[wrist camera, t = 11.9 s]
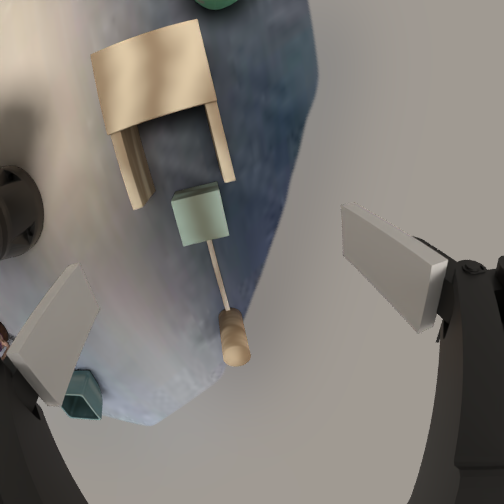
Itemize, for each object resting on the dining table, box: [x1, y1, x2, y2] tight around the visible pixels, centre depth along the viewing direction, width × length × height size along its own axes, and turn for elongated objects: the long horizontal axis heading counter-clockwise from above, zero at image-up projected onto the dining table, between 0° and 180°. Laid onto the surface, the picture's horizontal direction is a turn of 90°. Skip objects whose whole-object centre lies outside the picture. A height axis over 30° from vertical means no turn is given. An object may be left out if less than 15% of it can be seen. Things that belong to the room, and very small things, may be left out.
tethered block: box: [171, 182, 251, 366], centre depth 40 cm, size 6×25×10 cm, turn 10°
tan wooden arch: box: [91, 19, 235, 210], centre depth 30 cm, size 12×19×10 cm, turn 13°
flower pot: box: [61, 370, 102, 420], centre depth 46 cm, size 9×9×9 cm
